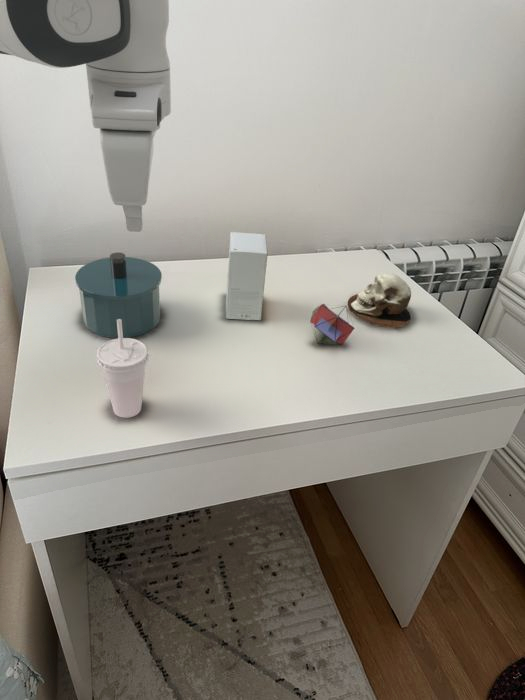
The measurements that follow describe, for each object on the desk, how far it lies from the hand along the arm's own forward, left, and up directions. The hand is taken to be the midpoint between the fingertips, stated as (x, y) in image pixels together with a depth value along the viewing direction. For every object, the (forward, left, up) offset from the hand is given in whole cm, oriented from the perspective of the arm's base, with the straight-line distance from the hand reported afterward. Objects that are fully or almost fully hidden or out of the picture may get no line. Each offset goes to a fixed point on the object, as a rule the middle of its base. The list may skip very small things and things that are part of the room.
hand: (137, 214), depth 67 cm
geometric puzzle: (+26, -17, -24) cm, 39 cm away
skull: (+41, -19, -24) cm, 51 cm away
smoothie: (-8, -5, -24) cm, 26 cm away
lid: (+7, +13, -17) cm, 22 cm away
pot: (+7, +13, -24) cm, 28 cm away
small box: (+24, 0, -24) cm, 34 cm away
